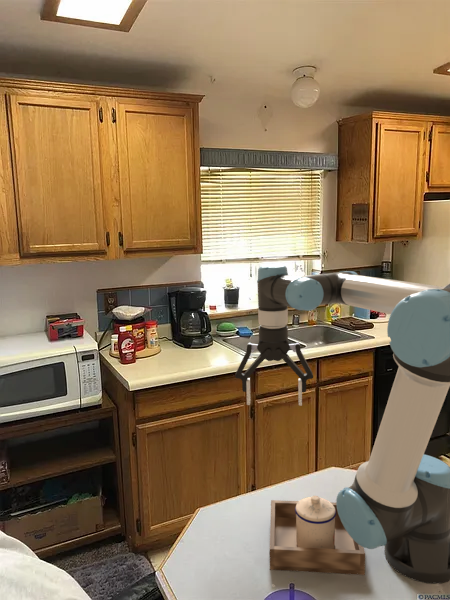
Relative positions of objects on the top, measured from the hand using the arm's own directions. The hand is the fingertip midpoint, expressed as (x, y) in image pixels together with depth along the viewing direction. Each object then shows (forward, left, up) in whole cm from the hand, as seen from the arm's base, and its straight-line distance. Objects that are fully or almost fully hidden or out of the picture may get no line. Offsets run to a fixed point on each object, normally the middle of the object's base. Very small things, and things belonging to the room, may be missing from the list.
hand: (274, 403), depth 125 cm
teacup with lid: (-9, +19, -26) cm, 33 cm away
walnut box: (-9, +19, -27) cm, 34 cm away
